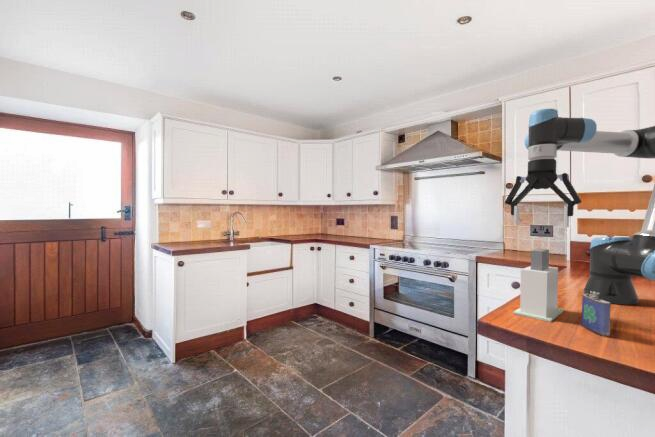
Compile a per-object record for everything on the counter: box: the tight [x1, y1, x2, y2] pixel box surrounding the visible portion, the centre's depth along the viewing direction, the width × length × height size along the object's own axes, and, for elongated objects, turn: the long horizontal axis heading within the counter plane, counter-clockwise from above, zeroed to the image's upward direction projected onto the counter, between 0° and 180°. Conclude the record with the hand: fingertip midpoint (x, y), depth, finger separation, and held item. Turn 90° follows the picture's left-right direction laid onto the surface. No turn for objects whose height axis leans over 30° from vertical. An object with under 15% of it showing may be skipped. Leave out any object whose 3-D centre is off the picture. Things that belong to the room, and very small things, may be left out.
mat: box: [512, 307, 565, 323], centre depth 102 cm, size 10×16×1 cm, turn 132°
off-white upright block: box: [519, 248, 559, 317], centre depth 101 cm, size 7×13×20 cm, turn 132°
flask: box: [580, 291, 612, 338], centre depth 86 cm, size 9×3×11 cm, turn 172°
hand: (540, 226), depth 101 cm, fingers open, 13 cm apart
